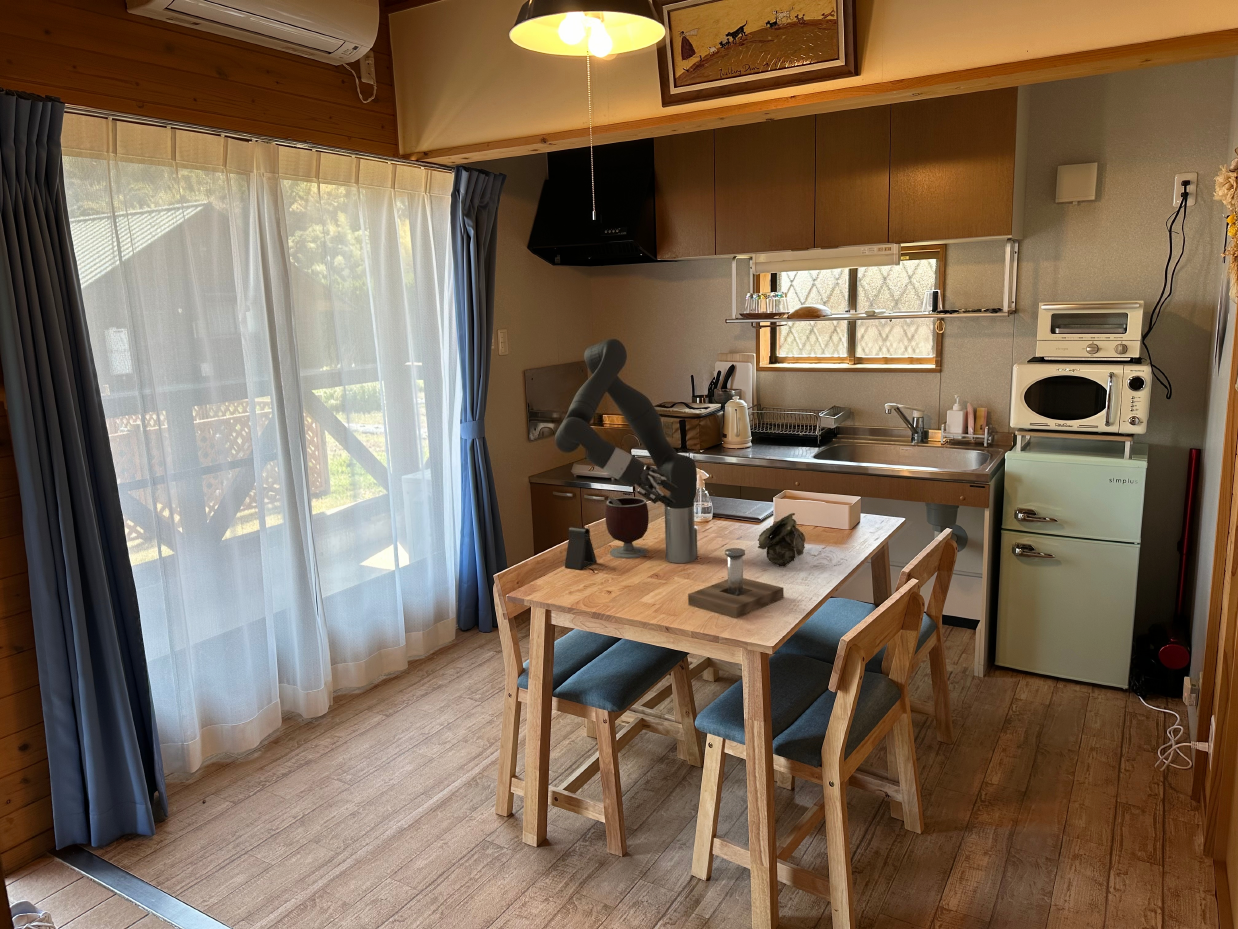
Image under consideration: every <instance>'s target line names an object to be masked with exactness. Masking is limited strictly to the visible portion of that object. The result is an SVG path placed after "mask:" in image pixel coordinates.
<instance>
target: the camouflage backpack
mask: <svg viewBox="0 0 1238 929" xmlns="http://www.w3.org/2000/svg"><path fill="white" fill-rule="evenodd" d="M795 515H796V513H794V512H792V513H789V514H788V515H786V516H784V517H782V518H781V519H778V520H777V521H776V522H774V523H773V524H771V525H770V526H768V527H767V528H765V529H764V530H762V532H761V533H760V534H759V535H758V539H757V542H758V546H757V548H758V549H760V550H766V558H767V560H768V562H770V563H771V564H773V565H776V566H778V567H779V568H784V567H786V566H788V565H789V564H790V563H792V562H795V559H796V556H798V557H800V556H802V555H804V553H805V552H804V550H805V549H806V546H805V542H806V537H805V534H804V533H803V531H801V530H800V529H799V528H798V527H797V526H798V525H797V523H798V522H797V520H796V519H794V518H793V516H795Z"/></svg>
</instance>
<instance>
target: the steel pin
mask: <svg viewBox="0 0 1238 929" xmlns="http://www.w3.org/2000/svg"><path fill="white" fill-rule="evenodd" d="M724 555H725V556H726V557H727V579H728V594H731V595H734V596H740V595H743V578H744V556H745V555H746V549H744V548H739V547H731V548H727V549H725V550H724Z"/></svg>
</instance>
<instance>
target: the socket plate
mask: <svg viewBox="0 0 1238 929" xmlns="http://www.w3.org/2000/svg"><path fill="white" fill-rule="evenodd" d="M784 594H785V593H784V587H783V586H778V585H774V584H771V583H765V582H762V581H757V580H753V579H751V578H750V579H749V578H745V577H743V595H740V596H734V595H731V594H728V578H727V579H724V580H721V581H719V582H716V583H713V584H711V585H708V586H706V587H703V588H701V589H698V590H695V591H693V592H689V593H688V594H687V595H688V596H687V599H688V603H687V604H688V606H691V607H694V608H698V609H702V610H706V611H709V612H712V613H716V614H719V615H723V616H726V617H729V618H733V619H735V620H736V619H739V618H741V617H744V616H746V615H748V614H750V613H752V612H755V611H758V610H759V609H762V608H764V607H767V606H769V605H772V604H774V603H776V602H779V601H780V600H783V599H784V598H785V597H784Z"/></svg>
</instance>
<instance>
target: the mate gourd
mask: <svg viewBox="0 0 1238 929" xmlns="http://www.w3.org/2000/svg"><path fill="white" fill-rule="evenodd" d="M607 499H608V500H607V501H606V505H605V511H604V512H605V516H604V517H605V525H606V530H607V532H608V534H609V535H610V536H611V537H612V539H614V540H615V541H618V542H621V543H623V545H622V546H619V547H615V548H611V549H610V550H609V556H611V557H613V558H616V559H635V558H641V557H644V556H646V555H647V554H648V549H647V548H645V547H642V546H637V545H635V546H634V544H633V543H634V542H635V541H638V540H640V539H642V538H643V537H644V535H645V534H646V532H648V529H649V522H650V519H649V518H650V517H649V516H650V515H649V508H648V507H649V506H648V504H647V499H646V498H642V497H636V496H635V497H634V496H633V497H631V496H628V497H627V496H626V497H625V496H624V497H616V498H613V497H608V498H607Z"/></svg>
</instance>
